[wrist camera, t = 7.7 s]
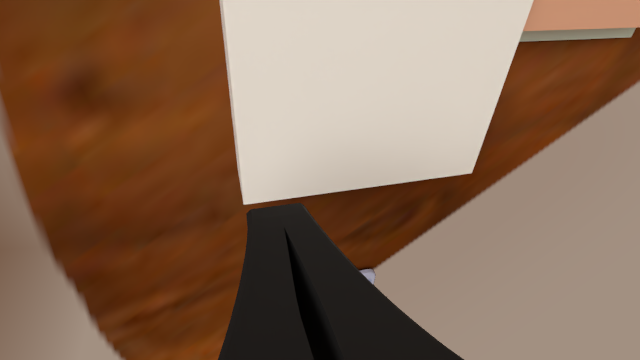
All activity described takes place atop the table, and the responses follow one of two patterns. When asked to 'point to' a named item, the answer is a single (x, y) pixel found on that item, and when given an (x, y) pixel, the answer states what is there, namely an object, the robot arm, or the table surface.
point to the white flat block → (362, 89)
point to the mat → (576, 34)
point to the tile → (582, 14)
